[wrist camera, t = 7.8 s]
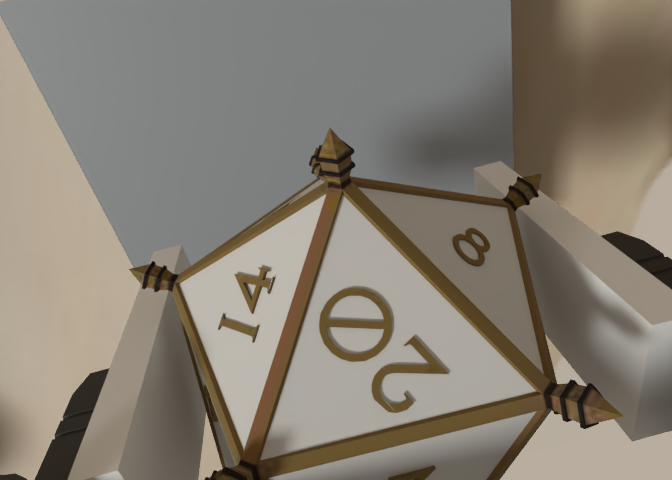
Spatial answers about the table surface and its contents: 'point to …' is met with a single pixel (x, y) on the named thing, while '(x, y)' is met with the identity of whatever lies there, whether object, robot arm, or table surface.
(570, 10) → the table surface
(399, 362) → the game die
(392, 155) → the plinth
